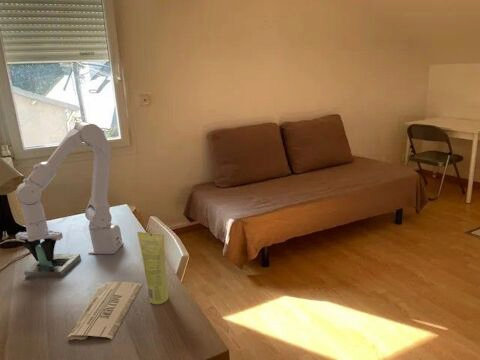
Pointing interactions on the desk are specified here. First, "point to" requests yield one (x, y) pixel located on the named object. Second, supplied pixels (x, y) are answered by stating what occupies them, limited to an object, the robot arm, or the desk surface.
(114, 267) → the desk surface
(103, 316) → the newspaper
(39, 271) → the keyhole plate
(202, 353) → the desk surface
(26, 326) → the desk surface
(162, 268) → the tube
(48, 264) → the peg
